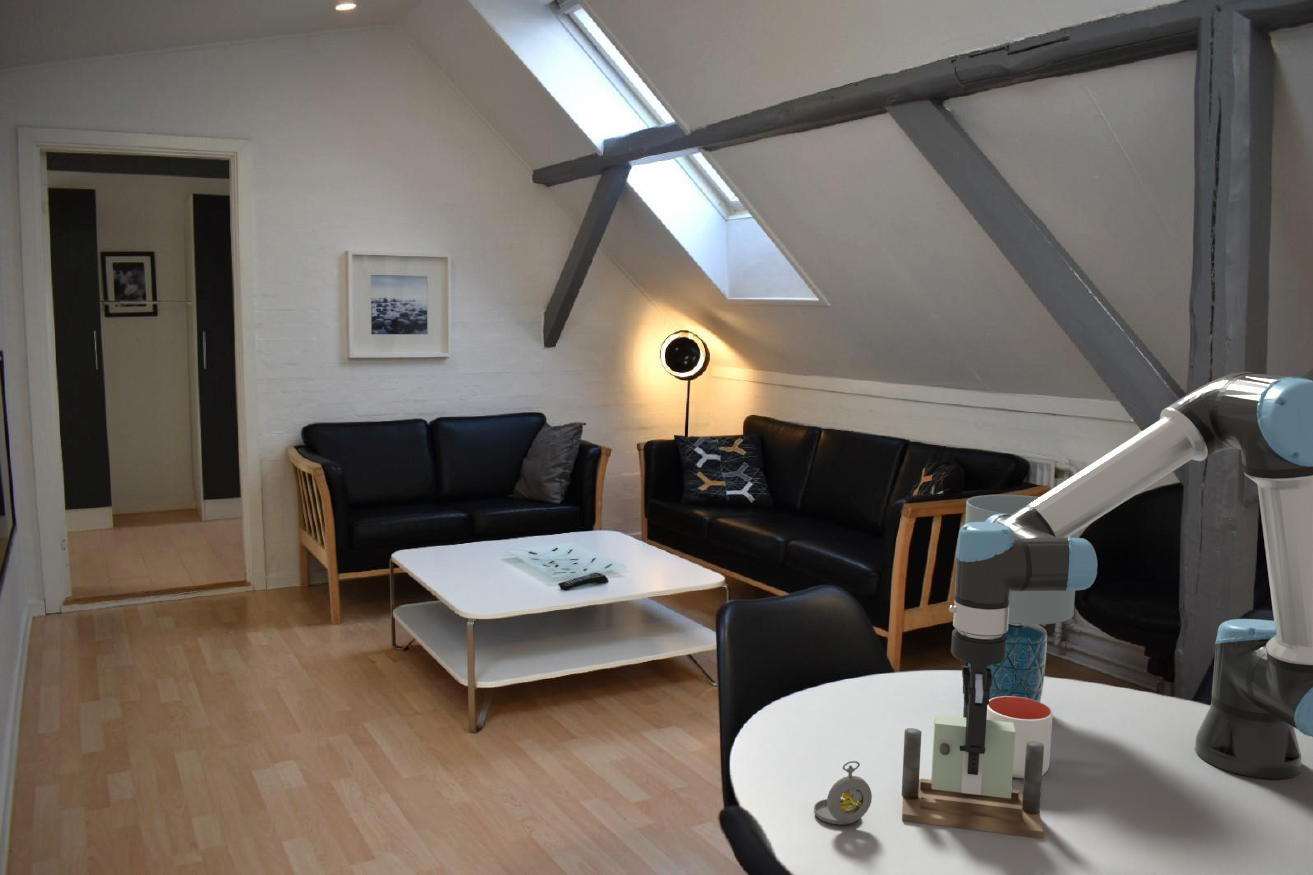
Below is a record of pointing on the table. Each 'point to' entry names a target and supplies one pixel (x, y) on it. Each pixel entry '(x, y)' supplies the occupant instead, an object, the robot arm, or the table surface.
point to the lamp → (1022, 615)
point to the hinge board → (972, 797)
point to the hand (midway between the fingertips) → (970, 785)
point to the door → (994, 759)
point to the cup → (1024, 726)
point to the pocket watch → (845, 800)
